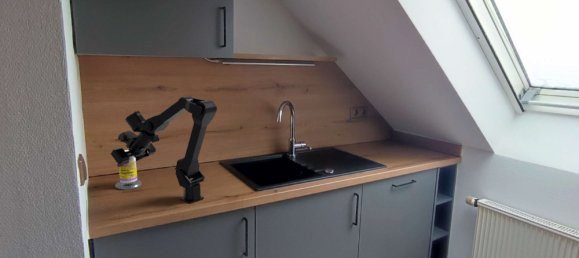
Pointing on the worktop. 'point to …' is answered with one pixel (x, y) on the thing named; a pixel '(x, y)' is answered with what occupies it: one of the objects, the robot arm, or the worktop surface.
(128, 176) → the supplement bottle
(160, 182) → the worktop surface
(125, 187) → the steel plate
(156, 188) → the worktop surface
